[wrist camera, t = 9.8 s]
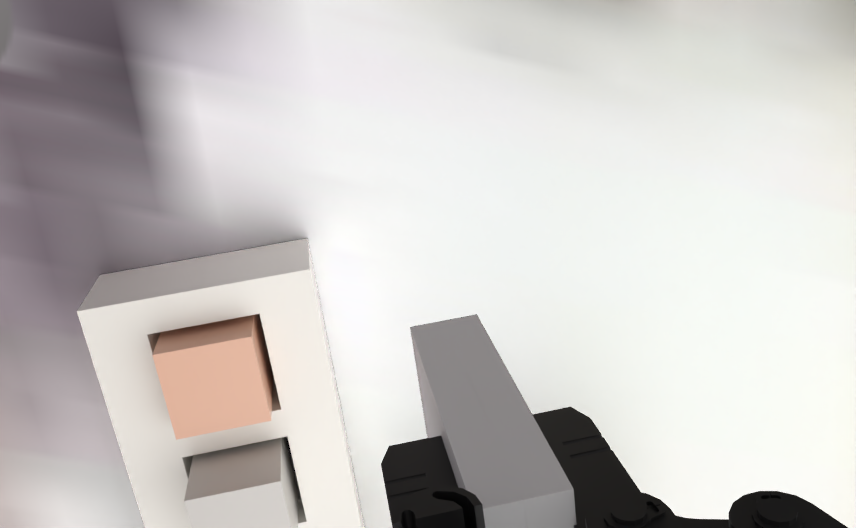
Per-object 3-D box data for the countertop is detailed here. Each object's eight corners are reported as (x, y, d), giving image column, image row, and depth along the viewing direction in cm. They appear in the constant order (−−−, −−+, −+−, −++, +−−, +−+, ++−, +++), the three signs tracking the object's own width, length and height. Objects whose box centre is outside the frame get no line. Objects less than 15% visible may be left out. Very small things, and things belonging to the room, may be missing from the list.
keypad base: (307, 238, 44) (309, 269, 39) (374, 575, 52) (382, 634, 47) (99, 274, 43) (76, 311, 38) (200, 614, 51) (192, 678, 46)
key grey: (281, 418, 45) (280, 481, 39) (297, 487, 46) (298, 558, 41) (197, 434, 44) (183, 501, 39) (216, 504, 46) (205, 577, 40)
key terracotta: (256, 290, 44) (251, 336, 38) (273, 365, 45) (271, 420, 40) (169, 306, 43) (152, 355, 38) (190, 382, 45) (176, 439, 39)
